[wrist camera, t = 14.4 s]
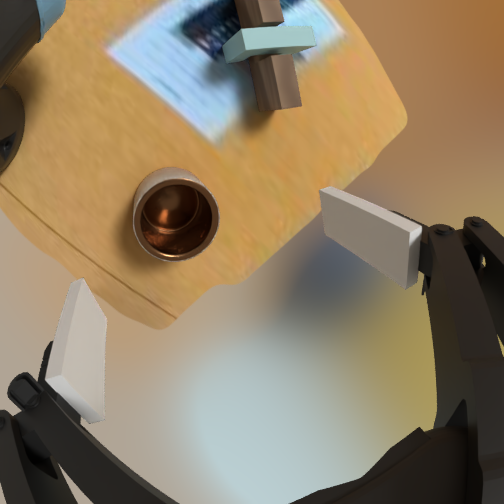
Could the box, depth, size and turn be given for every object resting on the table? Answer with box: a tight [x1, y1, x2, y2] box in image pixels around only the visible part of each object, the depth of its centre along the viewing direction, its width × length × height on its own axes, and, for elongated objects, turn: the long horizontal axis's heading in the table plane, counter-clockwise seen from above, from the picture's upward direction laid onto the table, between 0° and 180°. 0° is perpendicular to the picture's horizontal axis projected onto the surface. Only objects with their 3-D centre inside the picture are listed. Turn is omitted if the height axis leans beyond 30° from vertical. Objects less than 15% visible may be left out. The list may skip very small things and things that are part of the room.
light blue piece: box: [222, 26, 317, 64], centre depth 33 cm, size 10×3×9 cm, turn 101°
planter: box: [133, 167, 220, 262], centre depth 39 cm, size 11×11×10 cm
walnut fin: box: [235, 0, 302, 111], centre depth 34 cm, size 3×20×8 cm, turn 11°
